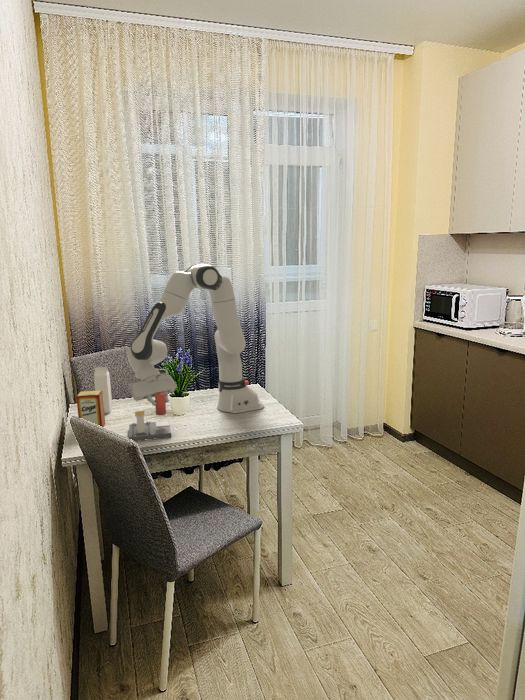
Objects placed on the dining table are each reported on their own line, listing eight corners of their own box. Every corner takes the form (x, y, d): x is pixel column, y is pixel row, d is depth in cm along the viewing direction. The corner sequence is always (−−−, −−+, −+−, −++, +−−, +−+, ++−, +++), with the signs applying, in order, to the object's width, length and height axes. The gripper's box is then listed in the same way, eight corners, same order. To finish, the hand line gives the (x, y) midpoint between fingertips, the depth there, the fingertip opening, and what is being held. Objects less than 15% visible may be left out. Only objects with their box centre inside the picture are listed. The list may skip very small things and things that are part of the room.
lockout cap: (165, 411, 217) (164, 391, 215) (166, 414, 213) (165, 394, 211) (155, 412, 216) (154, 392, 214) (156, 415, 211) (154, 395, 210)
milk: (110, 413, 237) (106, 368, 232) (97, 413, 236) (92, 369, 231) (112, 409, 242) (108, 365, 237) (100, 409, 242) (96, 365, 237)
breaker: (146, 430, 208) (145, 410, 206) (146, 434, 203) (145, 414, 201) (135, 431, 207) (134, 411, 205) (135, 436, 202) (134, 415, 200)
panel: (169, 424, 220) (168, 419, 220) (171, 437, 206) (170, 431, 205) (129, 428, 216) (129, 422, 216) (129, 441, 202) (128, 435, 201)
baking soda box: (79, 430, 216) (76, 395, 212) (83, 424, 222) (80, 390, 218) (102, 429, 217) (98, 394, 213) (105, 423, 223) (102, 389, 219)
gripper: (128, 377, 208) (142, 405, 204) (170, 369, 222) (183, 394, 217) (124, 385, 212) (137, 412, 208) (165, 376, 226) (178, 401, 221)
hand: (161, 403), depth 213 cm, fingers closed on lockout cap, 4 cm apart
